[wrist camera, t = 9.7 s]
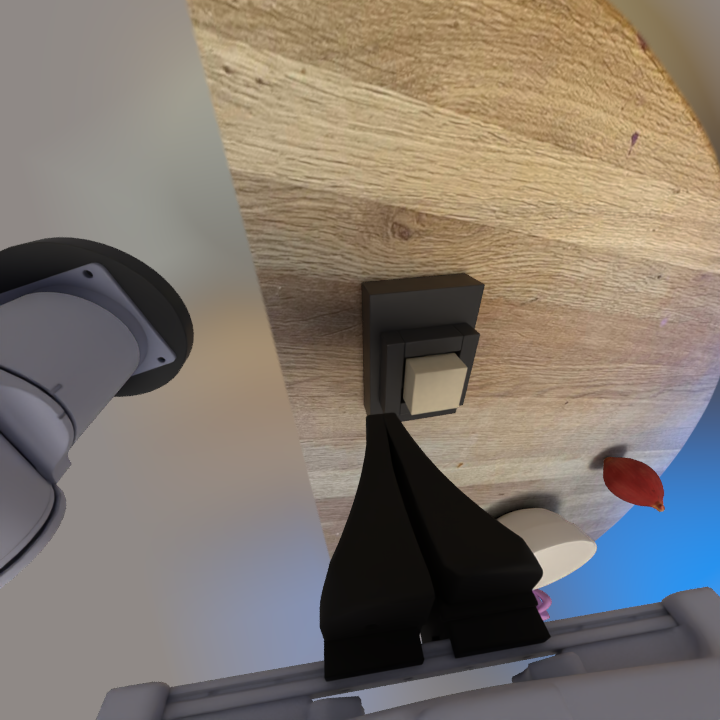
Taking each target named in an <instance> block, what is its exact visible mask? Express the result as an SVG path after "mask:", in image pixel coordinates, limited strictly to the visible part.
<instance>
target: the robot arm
mask: <svg viewBox="0 0 720 720" xmlns="http://www.w3.org/2000/svg"><path fill="white" fill-rule="evenodd" d="M86 270H88V271H90V272H91V273H92V274H93V277H92V276H90V275H88V274H87V272H86ZM160 357H163V358H164V359H165V360H162V359H161V358H160ZM175 359H176V354H175V353H174V351H173V350H172V349H171V348H170V346H169V345H168V344H167V343H166V342H165V340H164V339H163V338H162V337H161V335H160V334H159V333H158V332H157V330H156V329H155V328H154V327H153V325H152V324H151V323H150V322H149V321H148V319H147V318H146V317H145V316H144V314H143V313H142V312H141V311H140V309H139V308H138V307H137V306H136V305H135V303H134V302H133V301H132V300H131V298H130V297H129V296H128V295H127V293H126V292H125V291H124V290H123V289H122V287H121V286H120V285H119V284H118V282H117V281H116V280H115V279H114V277H113V276H112V275H111V274H110V272H109V271H108V270H107V269H106V268H105V267H104V266H103V265H102V264H100V263H96V262H94V263H90V264H87V265H84V266H81V267H78V268H75V269H72V270H69V271H66V272H63V273H60V274H57V275H54V276H51V277H48V278H45V279H42V280H39V281H36V282H33V283H30V284H27V285H24V286H21V287H18V288H15V289H12V290H9V291H6V292H4V293H1V294H0V588H2V587H3V586H4V585H6V584H7V583H8V582H9V581H10V580H12V579H13V578H14V577H15V576H16V575H18V574H19V573H20V572H21V571H22V570H23V569H24V568H25V567H27V566H28V564H30V562H31V561H32V560H33V559H34V558H35V557H36V556H37V555H38V554H39V553H40V552H41V551H42V550H43V548H44V547H45V546H46V545H47V543H48V542H49V541H50V540H51V538H52V537H53V535H54V534H55V532H56V531H57V529H58V528H59V526H60V524H61V521H62V519H63V517H64V514H65V510H66V498H65V495H64V493H63V491H62V490H61V489H60V488H59V487H58V486H57V485H56V483H57V482H58V481H59V480H60V478H61V477H62V476H63V475H64V473H65V472H66V471H67V469H68V468H69V467H70V466H71V462H70V460H69V458H68V451H69V449H70V448H71V446H73V444H74V443H75V442H76V441H77V440H78V438H79V437H80V436H81V435H82V434H83V432H84V431H85V430H86V429H87V428H88V426H89V425H90V424H91V423H92V422H93V420H94V419H95V418H96V417H97V415H98V414H99V413H100V412H101V411H102V410H103V409H104V407H105V406H106V405H107V404H108V403H109V401H110V400H111V399H112V398H113V397H114V395H115V394H116V393H117V392H118V391H119V389H120V388H121V387H122V386H123V385H124V384H125V382H126V381H127V380H128V379H129V378H130V376H133V375H136V374H139V373H142V372H145V371H148V370H151V369H154V368H157V367H160V366H163V365H166V364H169V363H172V362H174V360H175ZM542 576H543V569H542V567H541V566H540V564H539V562H538V560H537V559H536V557H535V555H534V554H533V552H532V551H531V549H530V548H529V547H528V545H527V544H526V542H525V541H524V539H523V538H522V537H520V536H519V535H517V534H516V533H514V532H513V531H511V530H510V529H509V528H507V527H506V526H504V525H503V524H502V523H500V522H499V521H497V520H496V519H495V518H493V517H492V516H491V515H490V514H488V513H487V512H486V511H484V510H483V509H482V508H480V507H479V506H478V505H477V504H476V503H475V502H473V501H472V500H471V499H470V498H469V497H467V496H466V495H465V494H464V493H463V492H462V491H460V490H459V489H458V488H457V487H456V486H455V485H454V484H453V483H452V482H451V481H450V480H449V479H448V478H447V477H446V476H445V475H444V474H443V473H442V472H441V471H440V470H439V469H438V468H437V467H436V466H435V465H434V464H433V463H432V461H431V460H430V459H429V458H428V457H427V456H426V455H425V453H424V452H423V451H422V450H421V448H420V447H419V446H418V445H417V443H416V442H415V441H414V440H413V438H412V437H411V436H410V434H409V433H408V431H407V430H406V429H405V427H404V426H403V424H402V423H401V421H400V419H399V418H398V416H397V414H396V413H394V412H393V413H383V414H374V415H368V416H367V417H366V451H365V458H364V463H363V468H362V473H361V477H360V481H359V485H358V489H357V492H356V495H355V499H354V502H353V505H352V508H351V511H350V514H349V517H348V520H347V522H346V525H345V528H344V530H343V533H342V536H341V538H340V541H339V543H338V545H337V547H336V550H335V552H334V554H333V557H332V559H331V561H330V564H329V568H328V572H327V575H326V579H325V583H324V586H323V590H322V595H321V600H320V629H321V632H322V635H323V638H324V661H319V662H314V663H308V664H302V665H296V666H290V667H285V668H279V669H273V670H267V671H261V672H256V673H250V674H244V675H239V676H233V677H227V678H221V679H215V680H210V681H204V682H198V683H192V684H187V685H181V686H175V687H169V685H167V684H166V683H163V682H149V683H143V684H137V685H131V686H125V687H119V688H114V689H111V690H110V691H109V692H108V693H107V694H106V697H105V699H104V701H103V704H102V706H101V709H100V711H99V713H98V716H97V718H96V720H720V597H719V596H718V595H717V594H716V593H715V592H714V591H713V589H711V588H709V587H703V588H697V589H691V590H686V591H680V592H676V593H674V594H671V595H669V596H667V597H665V598H664V599H663V600H662V602H659V603H653V604H647V605H641V606H636V607H630V608H624V609H618V610H613V611H607V612H602V613H595V614H590V615H584V616H578V617H572V618H567V619H561V620H555V621H550V622H543V620H542V618H541V616H540V614H539V612H538V610H537V608H536V606H537V605H538V601H537V599H536V597H535V595H534V593H533V591H532V590H533V588H534V587H535V586H536V585H537V584H538V582H539V581H540V580H541V578H542ZM420 633H421V639H422V644H421V641H420V636H419V635H420ZM554 654H555V656H553V657H549V658H546V659H543V660H539V661H536V662H533V663H530V664H529V665H528V668H527V669H525V670H524V671H523V672H521V673H519V674H517V675H515V676H513V677H512V682H513V683H511V684H504V685H498V686H493V687H487V688H481V689H476V690H471V691H466V692H461V693H456V694H451V695H446V696H442V697H437V698H433V699H428V700H424V701H420V702H415V703H411V704H407V705H403V706H399V707H395V708H391V709H386V710H382V711H379V712H374V713H370V714H366V715H365V713H364V708H363V707H362V705H361V699H360V698H359V697H358V696H357V697H356V696H355V697H339V698H327V699H321V700H317V701H314V702H313V701H312V700H311V699H315V698H321V697H326V696H332V695H336V694H342V693H348V692H353V691H359V690H364V689H369V688H375V687H380V686H386V685H391V684H397V683H402V682H407V681H413V680H418V679H424V678H429V677H434V676H440V675H445V674H450V673H456V672H462V671H467V670H473V669H478V668H483V667H489V666H494V665H500V664H505V663H510V662H516V661H521V660H527V659H531V658H537V657H543V656H548V655H554Z"/></svg>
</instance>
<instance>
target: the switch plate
mask: <svg viewBox="0 0 720 720" xmlns="http://www.w3.org/2000/svg"><path fill="white" fill-rule="evenodd" d="M484 286H485V285H484V284H483V283H481V282H479V281H478V280H476V279H474V278H472V277H471V276H469V275H467V274H465V273H464V274H452V275H440V276H429V277H417V278H405V279H393V280H381V281H370V282H362V320H363V366H364V407H365V410H366V413H367V416H368V415H374V414H383V413H393V412H394V413H396V414H397V416H398V418H399V419H400V421H401V422H402V421H409V420H415V419H421V418H427V417H433V416H440V415H446V414H452V413H456V408H453V409H446V410H440V411H434V412H427V413H421V414H415V415H411V413H410V411H409V409H408V407H407V405H406V403H405V401H404V399H403V390H404V378H405V365H406V359H407V358H414V357H422V356H430V355H437V354H445V353H455V354H456V355H457V356H458V357H459V358H460V359H461V361H462V362H463V363H464V364H465V365H466V366H467V373H466V377H465V381H464V385H463V390H462V394H461V398H460V403H459V406H460V405H463V402H464V398H465V394H466V390H467V386H468V382H469V378H470V374H471V370H472V365H473V361H474V357H475V353H476V349H477V345H478V341H479V337H480V334H479V333H478V332H477V331H476V330H475V325H476V321H477V316H478V312H479V308H480V303H481V299H482V294H483V290H484Z"/></svg>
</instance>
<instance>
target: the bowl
mask: <svg viewBox="0 0 720 720" xmlns="http://www.w3.org/2000/svg"><path fill="white" fill-rule="evenodd" d="M496 520H497V521H499V522H500V523H502V524H503V525H504V526H506V527H507V528H509V529H510V530H511V531H513V532H514V533H516V534H517V535H519V536H520V537H522V538H523V539H524V541H525V542H526V544H527V545H528V547H529V548H530V549H531V551H532V552H533V554H534V555H535V557H536V559H537V560H538V562H539V564H540V566H541V567H542V569H543V576H542V578H541V580H540V581H539V582H538V584H537V585H536V586H535V587H534V588H533V590H535V589H538V588H540V587H543V586H546V585H548V584H550V583H552V582H554V581H557V580H559V579H561V578H563V577H565V576H566V575H568V574H570V573H571V572H573V571H575V570H576V569H578V568H579V567H581V566H582V565H583V564H585V563H586V562H587V561H588V560H589V559H590V558H591V557H592V556H593V555H594V554H595V552H596V550H597V546H596V543H595V542H594V541H593V540H592V539H591V538H590V537H589V536H587V535H586V534H585V533H584V532H583V531H582V530H581V529H580V528H579V527H578V526H577V525H575V524H574V523H571V522H568V521H567V520H565V519H564V518H563V517H562V516H560V515H559V514H557V513H554V512H552V511H549V510H547V509H543V508H531V509H521V510H516V511H513V512H510V513H508V514H505V515H503V516H501V517H499V518H497V519H496Z"/></svg>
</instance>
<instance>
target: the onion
mask: <svg viewBox="0 0 720 720" xmlns="http://www.w3.org/2000/svg"><path fill="white" fill-rule="evenodd" d="M603 464H604V465H603V479H604V482H605V485H606V486H607V487H608V489H609V490H610V491H611V492H612V493H613V494H614V495H615V496H617V497H619V498H620V499H622V500H624V501H626V502H629V503H632V504H635V505H640V506H649V507H653V508H655V509H657V510H658V511H659V512H661V511H664V510H665V508H664V506H663V496H664V490H663V485H662V482H661V480H660V478H659V476H658V475H657V473H656V472H655V471H654V470H653V469H652V468H651V467H649V466H648V465H646V464H644V463H642V462H640V461H637V460H634V459H631V458H622V457H606V458H605V459H604V461H603Z"/></svg>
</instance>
